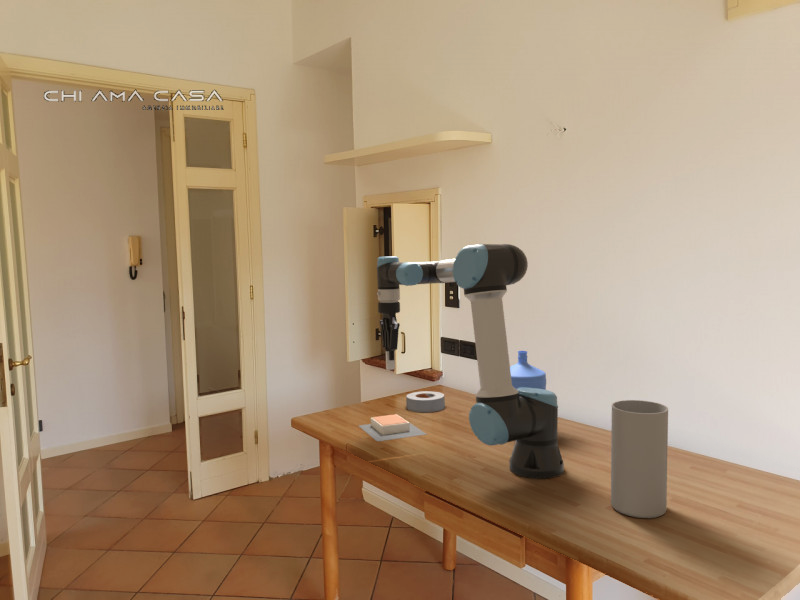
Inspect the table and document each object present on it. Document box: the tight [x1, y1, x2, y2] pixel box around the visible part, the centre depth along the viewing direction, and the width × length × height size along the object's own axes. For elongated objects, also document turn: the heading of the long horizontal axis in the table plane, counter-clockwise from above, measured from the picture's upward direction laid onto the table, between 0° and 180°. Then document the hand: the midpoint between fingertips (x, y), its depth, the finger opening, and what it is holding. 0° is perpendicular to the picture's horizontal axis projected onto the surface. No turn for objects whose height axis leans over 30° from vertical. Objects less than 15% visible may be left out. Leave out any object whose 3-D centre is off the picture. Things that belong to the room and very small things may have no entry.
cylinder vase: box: [610, 399, 669, 519], centre depth 146 cm, size 12×12×25 cm
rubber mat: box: [358, 422, 427, 442], centre depth 213 cm, size 20×18×1 cm
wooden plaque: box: [370, 413, 411, 435], centre depth 214 cm, size 3×10×12 cm
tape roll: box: [405, 390, 446, 413], centre depth 244 cm, size 15×15×5 cm
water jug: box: [510, 350, 547, 390], centre depth 208 cm, size 16×16×28 cm
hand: (390, 369), depth 211 cm, fingers closed
